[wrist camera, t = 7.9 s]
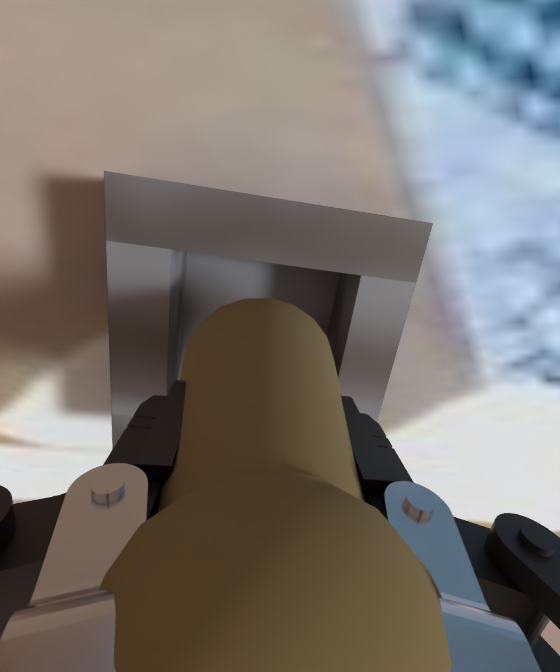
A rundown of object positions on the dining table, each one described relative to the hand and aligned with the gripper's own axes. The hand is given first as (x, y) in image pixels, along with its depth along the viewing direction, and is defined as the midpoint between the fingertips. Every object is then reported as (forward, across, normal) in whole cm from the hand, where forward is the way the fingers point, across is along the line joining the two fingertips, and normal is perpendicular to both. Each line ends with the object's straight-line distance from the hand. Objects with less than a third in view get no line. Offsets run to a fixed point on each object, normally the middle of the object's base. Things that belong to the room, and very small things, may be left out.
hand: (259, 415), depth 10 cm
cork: (+3, 0, 0) cm, 3 cm away
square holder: (+9, 0, 0) cm, 9 cm away
